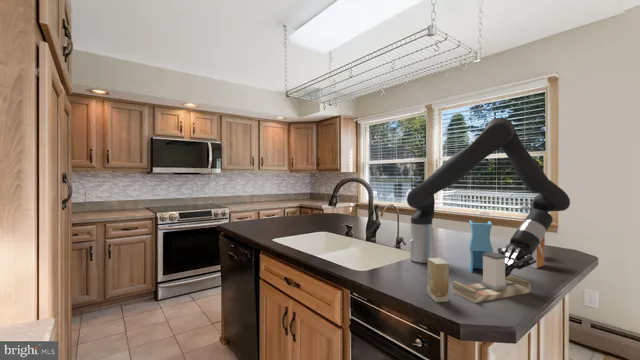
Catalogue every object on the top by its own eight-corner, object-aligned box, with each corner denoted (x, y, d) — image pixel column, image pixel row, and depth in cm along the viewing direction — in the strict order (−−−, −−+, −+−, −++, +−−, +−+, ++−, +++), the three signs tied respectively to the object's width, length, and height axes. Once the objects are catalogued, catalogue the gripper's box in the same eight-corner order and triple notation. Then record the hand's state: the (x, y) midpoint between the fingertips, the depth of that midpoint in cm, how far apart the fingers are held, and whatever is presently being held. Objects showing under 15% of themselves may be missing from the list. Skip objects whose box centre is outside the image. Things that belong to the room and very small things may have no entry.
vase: (490, 268, 121) (490, 221, 120) (492, 275, 113) (492, 224, 113) (469, 266, 124) (469, 220, 124) (470, 272, 117) (470, 223, 116)
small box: (537, 269, 120) (537, 237, 120) (519, 265, 125) (519, 235, 125) (544, 265, 124) (545, 235, 124) (527, 261, 130) (528, 233, 129)
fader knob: (496, 290, 94) (496, 257, 94) (480, 284, 100) (480, 252, 99) (507, 288, 95) (507, 256, 95) (491, 282, 101) (491, 251, 101)
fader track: (474, 302, 89) (474, 291, 89) (452, 291, 98) (452, 281, 98) (530, 292, 97) (530, 281, 97) (505, 282, 105) (505, 273, 105)
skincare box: (426, 294, 96) (426, 257, 96) (439, 293, 96) (439, 257, 96) (436, 302, 90) (436, 263, 89) (449, 302, 90) (449, 263, 90)
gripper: (554, 247, 96) (527, 289, 92) (515, 239, 108) (491, 275, 104) (542, 232, 94) (515, 274, 90) (505, 226, 106) (479, 262, 103)
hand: (502, 275), depth 97 cm, fingers closed
